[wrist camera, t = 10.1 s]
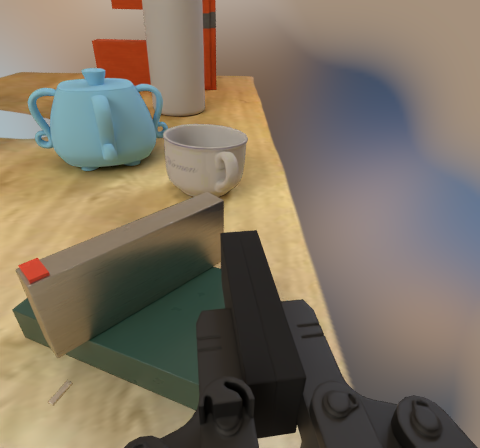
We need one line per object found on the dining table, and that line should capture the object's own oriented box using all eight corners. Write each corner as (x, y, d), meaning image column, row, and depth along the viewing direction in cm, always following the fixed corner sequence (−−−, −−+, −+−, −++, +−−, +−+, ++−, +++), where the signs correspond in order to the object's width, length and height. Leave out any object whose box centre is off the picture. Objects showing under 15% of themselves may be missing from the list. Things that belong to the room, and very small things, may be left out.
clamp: (107, 82, 109) (88, -26, 94) (215, 84, 112) (214, -21, 97) (99, 88, 101) (78, -29, 86) (216, 90, 104) (215, -24, 89)
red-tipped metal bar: (208, 250, 30) (207, 188, 27) (223, 260, 29) (224, 197, 26) (45, 339, 22) (13, 265, 18) (57, 359, 21) (25, 283, 17)
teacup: (165, 175, 51) (159, 122, 46) (234, 169, 53) (235, 118, 49) (175, 224, 39) (169, 160, 35) (262, 214, 42) (267, 153, 38)
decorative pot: (114, 136, 65) (100, 58, 58) (179, 152, 59) (172, 67, 51) (34, 163, 53) (4, 70, 46) (105, 187, 47) (82, 83, 39)
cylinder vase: (200, 103, 89) (196, -12, 76) (209, 115, 79) (206, -14, 66) (152, 104, 86) (139, -15, 73) (155, 118, 76) (140, -17, 63)
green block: (289, 281, 32) (293, 255, 30) (201, 503, 17) (199, 476, 16) (128, 236, 37) (124, 212, 35) (-40, 378, 23) (-62, 348, 21)
